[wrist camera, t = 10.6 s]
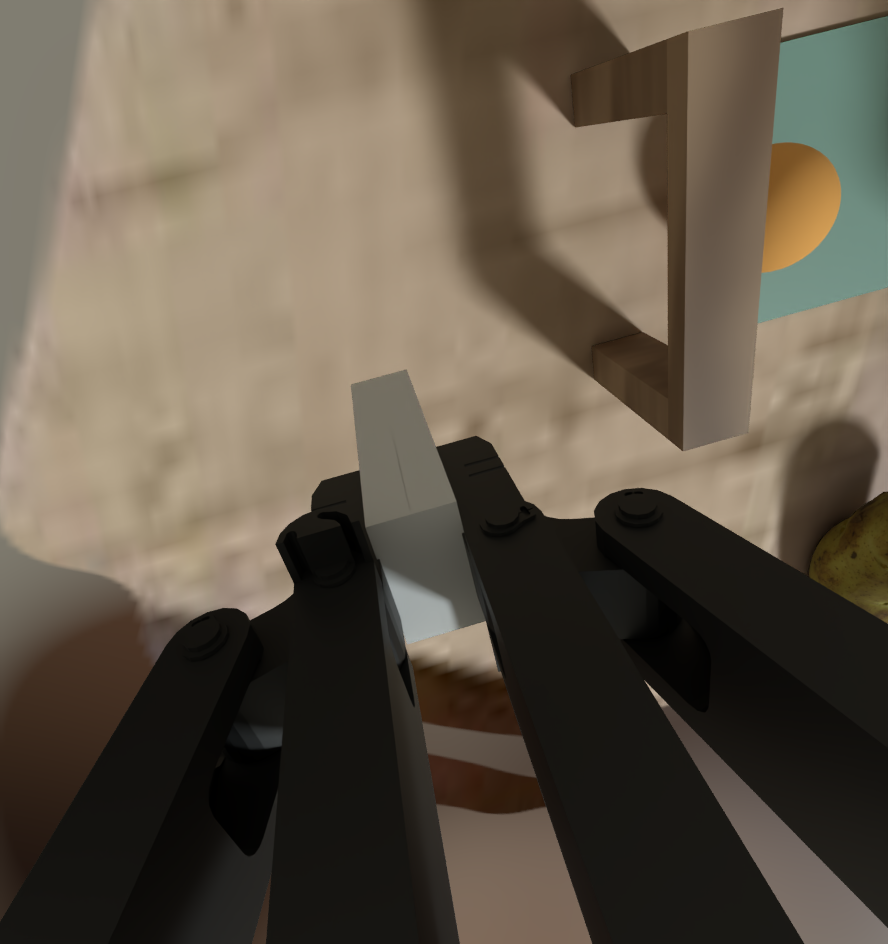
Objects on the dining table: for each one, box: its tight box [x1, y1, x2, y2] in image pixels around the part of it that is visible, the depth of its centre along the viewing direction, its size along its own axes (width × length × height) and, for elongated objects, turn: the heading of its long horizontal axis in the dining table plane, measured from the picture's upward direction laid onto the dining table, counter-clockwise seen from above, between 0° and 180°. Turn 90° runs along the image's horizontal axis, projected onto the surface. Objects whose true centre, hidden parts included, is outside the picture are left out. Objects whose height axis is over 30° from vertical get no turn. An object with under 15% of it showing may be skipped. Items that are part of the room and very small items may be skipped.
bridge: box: [571, 8, 783, 451], centre depth 24 cm, size 3×14×9 cm, turn 13°
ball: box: [762, 142, 841, 273], centre depth 26 cm, size 6×6×6 cm
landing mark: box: [758, 16, 888, 323], centre depth 29 cm, size 13×13×1 cm
